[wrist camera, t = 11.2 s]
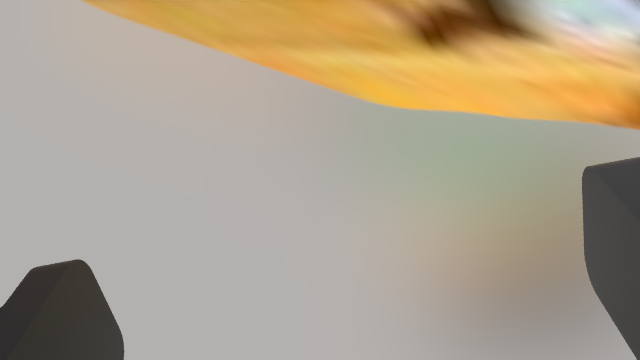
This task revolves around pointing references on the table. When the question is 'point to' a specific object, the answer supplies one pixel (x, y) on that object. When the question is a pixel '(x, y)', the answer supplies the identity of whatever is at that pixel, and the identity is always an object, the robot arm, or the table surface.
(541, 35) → the table surface
